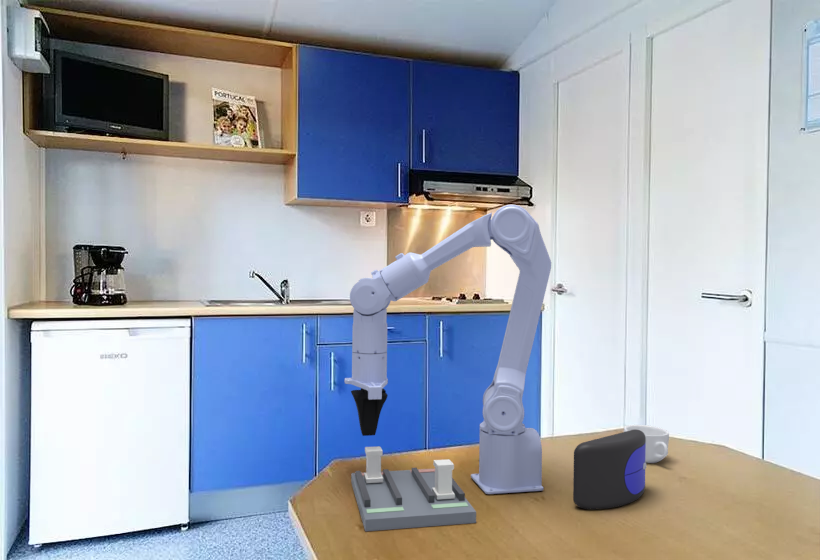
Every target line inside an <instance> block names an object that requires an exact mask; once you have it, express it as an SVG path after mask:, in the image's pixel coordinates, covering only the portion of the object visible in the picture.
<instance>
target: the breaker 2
mask: <svg viewBox="0 0 820 560" xmlns="http://www.w3.org/2000/svg"><path fill="white" fill-rule="evenodd" d="M432 464H433V466H434V469H435V488H432V492H433V494H434V495H435V497H436V499H437V500H439V499H454V498H455V494H454V492H453V491H452V478H453V470H454V469H455V464H454V463H453V461H451V459H433V463H432Z"/></svg>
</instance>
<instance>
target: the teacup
mask: <svg viewBox="0 0 820 560" xmlns="http://www.w3.org/2000/svg"><path fill="white" fill-rule="evenodd" d="M630 430H640V431H642V432H643V433H644V434H645V437H646V451H645V462H646V464H656V463H659V462H661V461H662V460H663V459H664V458H666V457H667V456H668V454H669V441H670V433H669V431H668V430H666V429H664V428H662V427H658V426H654V425H646V424H628V425H625V426H624V427H623V432H626V431H630Z"/></svg>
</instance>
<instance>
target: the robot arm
mask: <svg viewBox="0 0 820 560" xmlns="http://www.w3.org/2000/svg"><path fill="white" fill-rule="evenodd" d="M492 215H493V216H492ZM491 240H492V241H491ZM492 242H493V243H495V244H496V245H497V247H499V248H500V249H501V250H503V251H504V252H506V253H507V254H508V255H509V257H510V258H511V260H512V262H513V263H514V264H515V265H516V267H517V269H518V270H519V273H518V278H517V282H516V286H515V291H514V295H513V299H512V303H511V307H510V311H509V316H508V319H507V322H506V323H507V324H506V328H505V333H504V336H503V341H502V343H501V344H502V345H501V349H500V353H499V357H498V362H497V365H496V369H495V372H494V374H493V379H492V382H491V383H490V385H489V386H488V387H487V388H486V389H485V390H484V392H483V396H482V417H483V421H482V422H481V423H479V443H478V446H479V449H478V450H479V453H478V454H479V456H478V457H479V458H478V459H479V460H478V462H479V465H478V467H479V468H478V473H471V474H470V478H471V479H472V480H473V481H474V482H475V483H476V485H478V487H479V488H480V489H481V490H482V491H483V493H485V494H487V495H494V494H495V495H496V494H497V495H498V494H508V493H509V494H510V493H525V492H540V491H541V492H542V491H544V486H542V483H543V482H542V479H543V477H542V475H543V473H542V472H543V471H542V469H543V464H542V463H543V447H542V446H543V445H542V441H541V437H540V435H539V432H538V430H536V429H535V428H533V427H526V425H525V424H524V423H523V422H524V419H525V407H524V404H523V395H524V391H525V385H526V375H527V370H528V365H529V362H530V358H531V354H532V349H533V346H534V345H533V344H534V340H535V336H536V332H537V328H538V323H539V321H540V316H541V311H542V307H543V303H544V299H545V295H546V291H547V286H548V283H549V279H550V274H551V271H552V270H551V269H552V260H551V257H550V255H549V252H548V250H547V247H546V244H545V242H544V239H543V236H542V233H541V229H540V226H539V223H538V222H537V221H536V220H535V218H533V216H532V215H531V214H530V213H529V212H528V210H527V209H525V208H524V207H522V206H520V205H516V204H506V205H504V206H501V207H500V208H498V209H497V210H496V211H495V212H494V213H493V212H489V213H487V214H485V215H483V216H481V217H478V218H477V219H474V220H473V221H471V222H468V223H467V224H466V225H464V226H462V227H461V228H460V229H457V231H454V232H453V233H452V234H450V235H448V236H447V237H446V238H444V239H442V240H441V241H440V242H438V243H437V244H435V245H433V246H432V247H431V248H428V250H426V251H425V252H423V253H421V254H419V253H415V252H407V253H406V254H404V253H403V252H400V253H399V254H397V255H395V256H394V257H395V259H396V260H395V261H393V262H391V263H390V264H388V265H387V266H384V267H383V268H381V269H380V270H378V269H374V270H373V271H371V272H370V274H371V277H363V278H359V280H358V282H356V283H354V284H353V286H352V288H351V290H350V291H349V301H350V305H351V306H352V308H353V315H352V317H353V318H352V319H353V320H352V321H353V323H352V334H351V335H352V336H351V337H352V343H351V344H352V346H351V348H352V350H351V377H345V378H344V384H345V385H352V386H355V387H357V388H360V389H353V390H351V391H350V392H351V395H352V397H353V400H354V402H355V405H356V409H357V415H358V421H359V422H358V423H359V428H360V432H361V435H362V437H365V436H366V437H368V436H375V435H376V433H377V429H378V426H379V419H380V415H381V412H382V409H383V406H384V404H385V402H386V400H387V399H388V394H387V391H386V389H384V388H385V387H386V386H387V385H388V383H389V379H388V377H387V375H388V374H387V372H388V322H387V317H388V316H387V315H388V314H387V311H388V310H387V308H388V307H389V306H390V304H391V302H397V301H399V300H400V299H402V298H403V297H405V296H407V295H409V294H411V293H412V292H414V291H417V290H418V289H419V288H420V287H422V286H424V285H426V284H427V283H428V282H429V279H430V276H431V272H432V271H434V270H435V269H436V268H439V267H440V266H442V265H445V263H447V262H449V261H451V260H452V259H455V258H456V257H458V256H460V255H462V254H463V253H465V252H467V251H469V250H470V249H472V248H482V247H483V248H487V247H490V248H491V246H492Z"/></svg>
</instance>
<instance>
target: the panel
mask: <svg viewBox="0 0 820 560" xmlns="http://www.w3.org/2000/svg"><path fill="white" fill-rule="evenodd" d="M364 473H366V471H365V472H362V471H361V470H355V471H354V472H352V473H351V477H350V478H351V480H350V483H351V488H352V490H353V493H354V496H355V500H356V503H357V508H358V511H359V513H360V514H359V515H360V518H361V521H362V525H363V528H364V532H374V531H375V532H376V531H386V530H387V531H388V530H400V529H413V528H427V527H428V528H429V527H438V526H439V527H441V526H451V525H463V524H465V525H467V524H477V511H476V509H475V508H474V507H473V506H472V504H471V503H470V501H468V499H467V498H466V497H465V496H466V495H465V494H466V493H465V492H464V490H463V489H462V488H461V487H460V485H459V484H458V483H457V482H456V480H455V479H454V478H453V477H452V491H453V492H454V494H455V498H454V499H439V500H437V499H436V497H435V495H434V494H433V492H432V488H435V468H421V469H420V468H419V469H418V468H417V467H411V469H403V470H389V469H388V468H386V469H383V470H381V474H382V477H383V482H379V483H366V481H365V478H364Z"/></svg>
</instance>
